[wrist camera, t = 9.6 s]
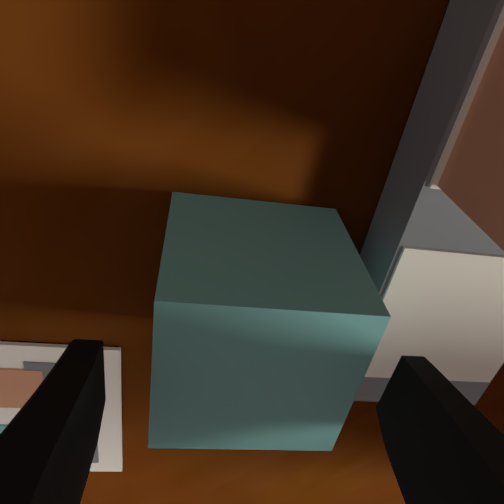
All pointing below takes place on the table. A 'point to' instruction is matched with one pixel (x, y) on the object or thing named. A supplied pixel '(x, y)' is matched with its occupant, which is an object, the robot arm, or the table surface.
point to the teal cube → (258, 326)
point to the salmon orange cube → (481, 154)
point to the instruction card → (34, 372)
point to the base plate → (438, 226)
